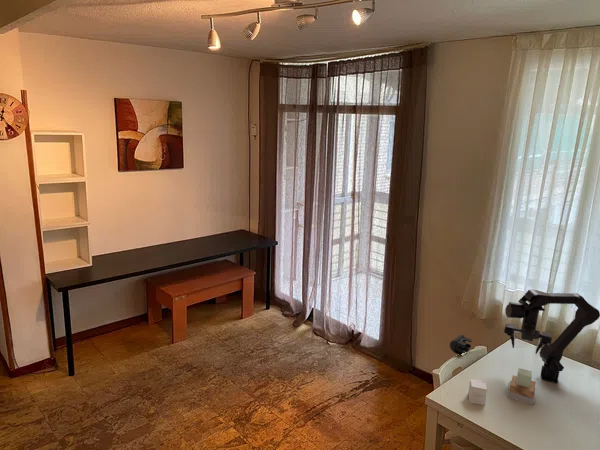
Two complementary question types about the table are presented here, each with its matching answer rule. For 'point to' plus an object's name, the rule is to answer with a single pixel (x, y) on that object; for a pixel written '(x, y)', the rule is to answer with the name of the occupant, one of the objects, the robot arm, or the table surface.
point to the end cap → (460, 345)
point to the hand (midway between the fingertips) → (524, 350)
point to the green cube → (524, 377)
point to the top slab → (522, 388)
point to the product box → (477, 392)
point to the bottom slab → (521, 397)
